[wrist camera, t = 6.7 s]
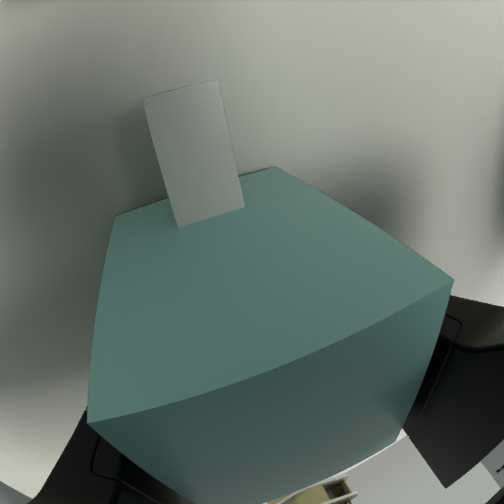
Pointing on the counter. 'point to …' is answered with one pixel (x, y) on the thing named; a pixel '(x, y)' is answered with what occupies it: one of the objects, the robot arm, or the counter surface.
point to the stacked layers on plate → (321, 493)
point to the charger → (252, 322)
